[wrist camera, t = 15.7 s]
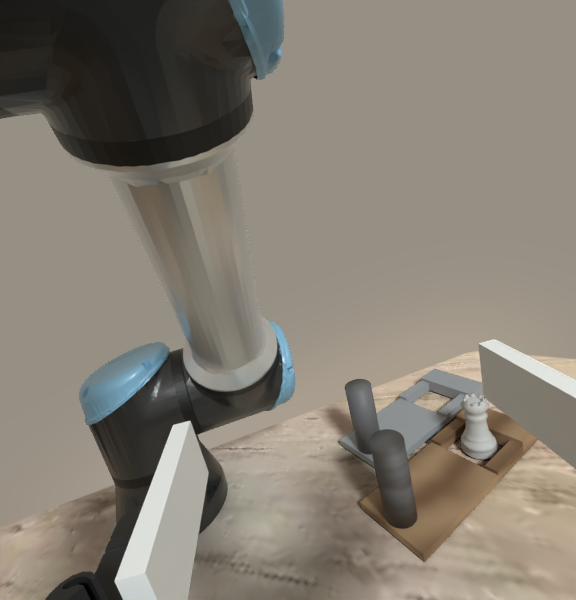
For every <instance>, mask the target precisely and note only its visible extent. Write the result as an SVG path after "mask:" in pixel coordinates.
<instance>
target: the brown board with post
mask: <svg viewBox="0 0 576 600" xmlns="http://www.w3.org/2000/svg"><path fill="white" fill-rule="evenodd" d="M464 412H465V410H464V409H463V410H462V411H461V412H459V413H458V414H457V415H456V419H455V420H453V421H452V422H451V423H450V424H449V425H447V426H446V427H445V428H444V429H443V430H441V431H440V432H439V433H438V434H437V435H435V436H434V437H433V438H432V439H431V441H432V442H431V443H430V444H429V445H427V446H426V447H425V448H424V449H423V450H421V451H420V452H419V453H418V454H417V455H416V456H414V457H413V458H412V459H411V460H410V461H408V458H407V452H406V446H405V441H404V437H403V435H402V434H401V433H399V432H398V431H395V430H391V429H384V430H379V431H377V432H375V433H374V434H373V435H372V436H371V437H370V441H369V442H370V447H371V452H372V457H373V462H374V466H375V471H376V476H377V481H378V487H377V488H376V489H375V490H374V491H372V492H371V493H370V494H369V495H368V496H366V497H365V498H364V499H363V500H362V501H361V502H360V504H361V508H362V509H363V510H364V511H365V512H366V513H368V514H369V515H370V516H371V517H372V518H373V519H375V520H376V521H377V522H378V523H379V524H381V525H382V526H383V527H384V528H385V529H386V530H388V531H389V532H390V533H391V534H392V535H394V536H395V537H396V538H397V539H398V540H399V541H401V542H402V543H403V544H404V545H405V546H407V547H408V548H409V549H410V550H411V551H412V552H414V553H415V554H416V555H417V556H418V557H420V558H421V559H422V560H423V561H424V562H425V561H426V560H427V559H428V558H429V557H430V556H431V555H432V554H433V553H434V552H435V550H436V549H437V548H438V547H439V546H440V545H441V544H442V543H443V542H444V541H445V540H446V539H447V537H448V536H449V535H450V534H451V533H452V532H453V531H454V530H455V529H456V528H457V527H458V526H459V524H460V523H461V522H462V521H463V520H464V519H465V518H466V517H467V516H468V515H469V514H470V512H471V511H472V510H473V509H474V508H475V507H476V506H477V505H478V504H479V503H480V502H481V501H482V499H483V498H484V497H485V496H486V495H487V494H488V493H489V492H490V491H491V490H492V489H493V488H494V486H495V485H496V484H497V483H498V482H499V481H500V480H501V479H502V478H503V477H504V476H505V475H506V473H507V472H508V471H509V470H510V469H511V468H512V467H513V466H514V465H515V464H516V463H517V462H518V460H519V459H520V458H521V457H522V456H523V455H524V454H525V453H526V452H527V451H528V450H529V449H530V447H531V446H532V445H533V444H534V443H535V442H536V441H537V440H538V439H537V438H536V437H534V436H533V435H532V434H530V433H529V432H528V431H527V430H525V429H524V428H523V427H521V426H520V425H519V424H518V423H516V422H515V421H514V420H512V419H511V418H510V417H509V416H507V415H505V414H502V413H499V412H496V411H494V410H491V409H487V410H486V411H485V412H486V413H487V415H488V417H487V419H486V421H487V425H488V429H489V431H490V432H491V433H492V435H493V436H494V437H495V439H496V442H497V444H499V445H501V446H504V447H503V448H502V449H501V450H500V451H499V452H498V453H497V454H496V455H495V456H494V457H493V458H492V459H491V460H490V461H489V462H488V463H487V464H486V465H485V468H483V467H481V466H479V465H477V464H475V463H473V462H471V461H469V460H467V459H465V458H463V457H461V456H459V455H457V454H455V453H453V452H451V451H449V450H447V448H448V447H449V446H450V445H452V444H453V443H454V442H455V441H456V440H457V439H458V438H460V437H461V436H462V434H463V432H464V430H465V428H466V418H465V416H464Z"/></svg>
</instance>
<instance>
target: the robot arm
mask: <svg viewBox="0 0 576 600" xmlns="http://www.w3.org/2000/svg"><path fill="white" fill-rule="evenodd" d="M283 39H284V11H283V0H0V119H1V118H7V117H12V116H19V115H29V114H37V113H41V114H43V115H44V116H45V118H46V119H47V121H48V122H49V124H50V126H51V128H52V130H53V131H54V133H55V135H56V137H57V138H58V140H59V142H60V144H61V146H62V147H63V149H64V151H65V152H66V153H67V154H68V155H69V156H70V157H71V158H73V159H74V160H76V161H77V162H79V163H81V164H83V165H86V166H89V167H91V168H94V169H97V170H100V171H103V172H105V173H106V174H107V176H108V178H109V181H110V182H111V185H112V186H113V189H114V190H115V193H116V195H117V197H118V199H119V201H120V203H121V205H122V207H123V209H124V211H125V213H126V216H127V218H128V220H129V222H130V224H131V226H132V228H133V230H134V232H135V234H136V236H137V238H138V240H139V242H140V244H141V246H142V249H143V251H144V252H145V255H146V257H147V259H148V261H149V263H150V265H151V267H152V269H153V271H154V273H155V275H156V277H157V279H158V281H159V283H160V286H161V287H162V290H163V292H164V294H165V296H166V298H167V300H168V302H169V304H170V306H171V308H172V310H173V312H174V314H175V316H176V319H177V321H178V323H179V325H180V327H181V329H182V331H183V333H184V335H185V337H186V341H185V344H184V348H182V349H179V350H176V351H172V352H170V351H169V348H168V347H167V346H166V345H165V344H164V343H161V342H156V343H154V344H146V345H143V346H140V347H138V348H135V349H133V350H131V351H128V352H127V353H124V354H122V355H120V356H118V357H117V358H115V359H113V360H111V361H110V362H108V363H106V364H105V365H103V366H102V367H100V368H99V369H98V370H97V371H95V372H94V373H93V374H91V375H90V376H89V377H88V378H87V379H86V380H85V382H84V383H83V384H82V386H81V388H80V392H79V399H80V403H81V406H82V408H83V411H84V414H85V417H86V418H85V422H86V424H87V425H89V427H90V430H91V432H92V434H93V436H94V438H95V441H96V443H97V445H98V447H99V449H100V452H101V454H102V456H103V458H104V460H105V463H106V465H107V467H108V469H109V472H110V474H111V476H112V478H113V480H114V483H115V486H116V527H115V530H114V532H113V534H112V536H111V541H109V543H108V546H107V548H106V550H105V554H104V555H103V557H102V559H101V562H100V564H99V566H98V568H97V571H96V573H95V575H94V574H93V573H92V572H81V573H78V574H76V575H73V576H71V577H70V578H68V579H67V580H65V581H63V582H62V583H61V584H60V585H58V586H57V587H56V588H55V589H54V590H53V591H52V592H51V593H50V594H49V596H48V597H47V598H46V600H188V594H189V588H190V582H191V576H192V570H193V564H194V558H195V552H196V546H197V540H198V534H200V533H201V532H202V531H203V530H204V529H205V528H206V527H207V526H208V525H209V524H210V523H211V522H212V521H213V520H214V518H215V517H216V516H217V514H218V513H219V511H220V509H221V508H222V506H223V504H224V501H225V499H226V495H227V481H226V478H225V475H224V472H223V469H222V467H221V465H220V464H219V462H218V461H217V460H216V459H215V458H214V457H213V456H212V454H211V453H210V452H209V451H208V450H207V449H206V448H205V446H204V445H203V444H202V443H201V442H200V440H199V438H198V436H197V434H200V433H203V432H205V431H208V430H211V429H214V428H217V427H220V426H223V425H225V424H228V423H231V422H234V421H237V420H240V419H242V418H245V417H248V416H251V415H254V414H257V413H259V412H262V411H269V410H272V409H274V408H275V407H277V406H278V405H280V404H283V403H285V402H287V401H288V400H290V398H291V397H292V395H293V393H294V389H295V373H294V370H293V368H292V367H293V360H292V356H291V352H290V348H289V345H288V343H287V340H286V338H285V335H284V333H283V331H282V330H281V328H280V327H279V326H278V325H277V324H276V323H273V322H268V321H267V320H266V319H265V318H263V317H262V316H261V314H260V308H259V302H258V296H257V289H256V283H255V276H254V269H253V263H252V257H251V250H250V244H249V237H248V231H247V225H246V218H245V212H244V205H243V199H242V192H241V187H240V180H239V173H238V167H237V160H236V154H235V147H234V145H235V144H236V143H237V142H238V140H239V139H240V138H241V137H242V136H243V135H244V134H245V133H246V131H247V129H248V128H249V127H250V125H251V123H252V120H253V104H252V94H251V79H252V78H253V77H254V78H256V79H257V80H262V79H264V78H265V76H266V75H267V74H269V73H272V72H273V71H274V70H275V69H276V68H277V66H278V64H279V62H280V59H281V44H282V42H283ZM479 354H480V363H481V373H482V383H483V392H484V398H486V399H487V400H488V401H489V402H491V403H492V404H493V405H495V406H496V407H497V408H498V409H500V410H501V411H502V412H503V413H505V414H506V415H507V416H509V417H510V418H511V419H512V420H514V421H515V422H516V423H518V424H519V425H520V426H521V427H523V428H524V429H525V430H527V431H528V432H529V433H530V434H532V435H533V436H534V437H536V438H537V439H538V440H539V441H541V442H542V443H543V444H545V445H546V446H547V447H548V448H550V449H551V450H552V451H554V452H555V453H556V454H557V455H559V456H560V457H561V458H562V459H564V460H565V461H566V462H568V463H569V464H570V465H571V466H573V467H574V468H575V469H576V380H574V379H572V378H570V377H568V376H566V375H564V374H562V373H560V372H558V371H556V370H555V369H553V368H551V367H549V366H547V365H545V364H543V363H541V362H539V361H537V360H535V359H533V358H531V357H529V356H527V355H525V354H523V353H521V352H519V351H517V350H515V349H513V348H511V347H509V346H507V345H505V344H503V343H501V342H499V341H497V340H495V339H493V340H490V341H486V342H482V343H479Z"/></svg>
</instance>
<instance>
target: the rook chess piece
mask: <svg viewBox="0 0 576 600" xmlns="http://www.w3.org/2000/svg"><path fill="white" fill-rule="evenodd" d="M461 407H462V408H463V409H464V410H465V412H464V416H465V418H466V428H465V430H464V432H463V434H462V436H461V448H462V450H463V451H464V452H465V453H466V454H467V455H469V456H470V457H472V458H475V459H478V460H487V459H490V458H492V457H494V456H495V455H496V454H497V452H498V447H497V442H496V439H495V437H494V436H493V435H492V433H491V432H490V431H489V429H488V425H487V421H486V419H487V417H488V415H487V413H486V412H485V411H486V410H487V409H488V407H489V405H488V403H487V402H486V401H485V399H484V398H482V395H480V394H478V397H477V396H475V393H471V396H469V395H468V394H466V395H464V397H463V401H462V402H461Z"/></svg>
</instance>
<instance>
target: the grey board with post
mask: <svg viewBox="0 0 576 600" xmlns="http://www.w3.org/2000/svg"><path fill="white" fill-rule="evenodd" d="M429 390H430V391H433V392H436V393H439V394H441V395H444V396H447V397H450V398H453V400H452V401H450V402H449V403H448V404H446V405H445V406H444V407H443V408H441V409H440V410H439V411H438V414H437V413H435V412H432V411H430V410H428V409H425V408H423V407H420V406H418V405H416V404H413V403H412V402H414V401H415V400H417V399H418V398H419V397H421V396H422V395H424V394H425V393H426V392H428V391H429ZM345 391H346V395H347V400H348V405H349V409H350V414H351V419H352V423H353V428H354V430H353V431H351V432H350V433H348V434H347V435H346V436H344V437H343V438H341V439H340V443H341V445H342V446H343V447H345V448H346V449H348V450H349V451H351V452H352V453H354V454H355V455H357V456H358V457H359V458H361V459H362V460H364V461H365V462H367V463H368V464H370V465H371V466H373V467H374V468H375V466H374V462H373V457H372V452H371V447H370V442H369V441H370V437H371V436H372V435H373V434H374V433H375V432H377V431H379V430H384V429H391V430H395V431H398V432H399V433H401V434H402V435H403V437H404V441H405V446H406V452H407V456H409V455H410V454H411V453H412V452H413V451H415V450H416V449H417V448H418V447H420V446H421V445H422V444H423V443H424V442H426V441H427V440H428V439H429V438H430V437H432V436H433V435H434V434H435V433H436V432H438V431H439V430H440V429H441V428H443V427H444V426H445V425H446V424H447V423H449V422H450V421H451V420H452V419H453V418H455V417H456V415H457V414H458V413H459V412H461V411H462V410H463V408H462V407H461V402H462V401H463V397H464V395H466V394H468V395H469V396H471V393H475V396H477V397H478V394H480V395H483V394H484V392H483V383H481V382H478V381H475V380H471V379H468V378H464V377H461V376H458V375H454V374H451V373H447V372H444V371H441V370H437V369H433V370H432V371H430V372H429V373H428V374H426V375H425V376H423V377H422V378H421V381H420V382H418V383H417V384H415V385H414V386H412V387H411V388H410V389H408V390H407V391H405V392H404V393H402V394H401V395H399V396H400V398H399V399H398V400H396V401H395V402H393V403H392V404H390V405H389V406H387V407H386V408H385V409H383V410H382V411H380V412H379V413H377V414H376V409H375V404H374V399H373V393H372V388H371V383H370V382H369V381H367V380H364V379H356V380H353V381H350V382H348V383H347V384H346V385H345Z"/></svg>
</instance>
